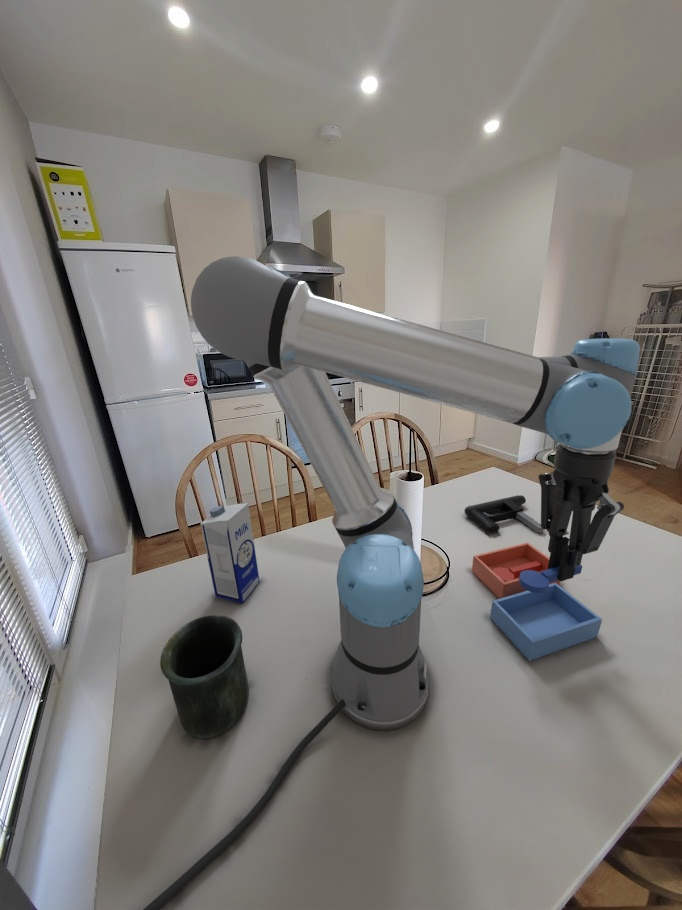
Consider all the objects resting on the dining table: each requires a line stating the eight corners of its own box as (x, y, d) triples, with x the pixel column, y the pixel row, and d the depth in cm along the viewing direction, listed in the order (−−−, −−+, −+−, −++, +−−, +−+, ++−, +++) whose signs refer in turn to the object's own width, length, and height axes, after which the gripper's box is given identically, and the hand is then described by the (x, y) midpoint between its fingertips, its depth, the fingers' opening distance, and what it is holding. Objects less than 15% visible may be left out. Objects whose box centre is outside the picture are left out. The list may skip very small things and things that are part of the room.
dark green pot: (173, 757, 48) (152, 694, 43) (183, 664, 61) (169, 609, 56) (255, 729, 50) (244, 668, 46) (248, 646, 64) (239, 592, 59)
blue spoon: (566, 563, 65) (568, 556, 64) (588, 578, 61) (590, 571, 60) (513, 578, 62) (514, 571, 61) (532, 596, 58) (534, 588, 57)
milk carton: (242, 604, 73) (227, 519, 66) (214, 597, 75) (197, 514, 68) (260, 581, 79) (248, 502, 72) (234, 575, 81) (220, 498, 74)
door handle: (562, 519, 94) (516, 491, 108) (500, 535, 88) (460, 503, 102) (559, 530, 95) (514, 500, 109) (498, 546, 89) (459, 513, 103)
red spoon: (531, 562, 81) (532, 556, 80) (546, 574, 77) (547, 568, 76) (487, 574, 78) (487, 568, 77) (501, 587, 74) (501, 581, 73)
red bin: (501, 600, 71) (504, 584, 70) (471, 570, 80) (473, 555, 78) (559, 584, 75) (563, 568, 74) (525, 557, 84) (527, 542, 82)
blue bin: (529, 661, 59) (532, 642, 57) (489, 617, 67) (492, 600, 66) (597, 637, 63) (602, 619, 61) (551, 598, 71) (555, 582, 70)
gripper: (656, 458, 48) (617, 597, 56) (564, 430, 61) (543, 546, 69) (614, 467, 46) (580, 609, 54) (528, 436, 59) (511, 555, 67)
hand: (560, 574), depth 62 cm, fingers closed on blue spoon, 1 cm apart
